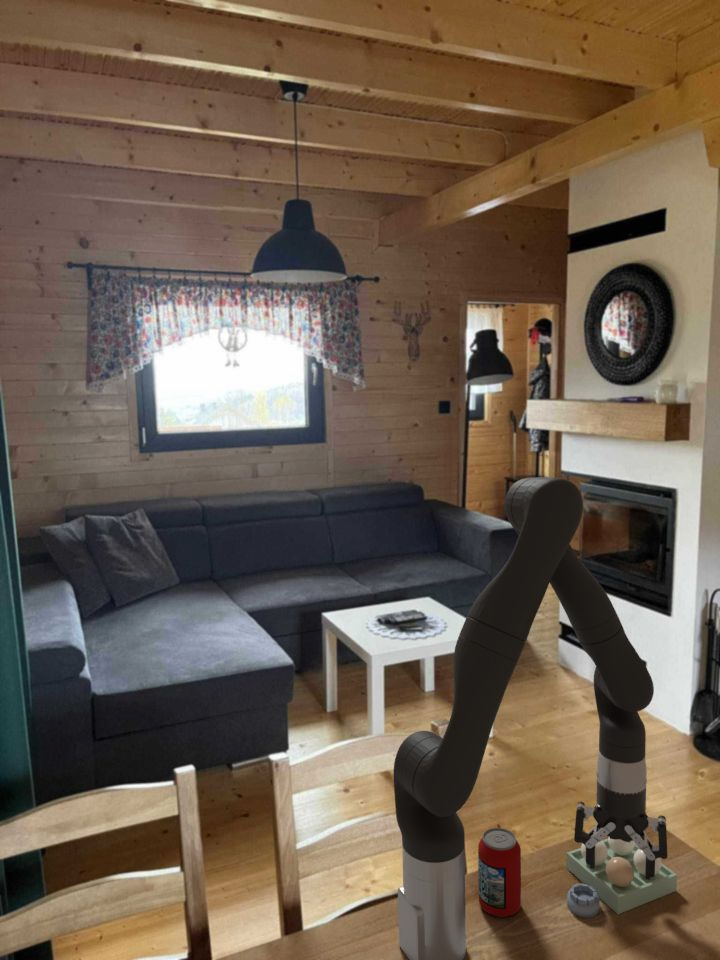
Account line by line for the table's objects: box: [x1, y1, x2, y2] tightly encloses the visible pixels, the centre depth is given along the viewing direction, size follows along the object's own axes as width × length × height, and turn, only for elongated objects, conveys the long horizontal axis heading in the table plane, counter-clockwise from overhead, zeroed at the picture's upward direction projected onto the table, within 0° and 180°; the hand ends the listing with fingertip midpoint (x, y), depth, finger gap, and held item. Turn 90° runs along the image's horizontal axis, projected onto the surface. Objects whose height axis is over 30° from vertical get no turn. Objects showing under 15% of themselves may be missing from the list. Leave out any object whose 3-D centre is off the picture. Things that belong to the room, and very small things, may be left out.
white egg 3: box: [633, 849, 663, 876], centre depth 123 cm, size 4×4×4 cm
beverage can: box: [477, 827, 522, 918], centre depth 119 cm, size 7×7×12 cm
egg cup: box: [566, 882, 601, 919], centre depth 119 cm, size 5×5×3 cm
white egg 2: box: [607, 836, 636, 856], centre depth 129 cm, size 4×4×4 cm
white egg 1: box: [580, 840, 608, 866], centre depth 126 cm, size 4×4×4 cm
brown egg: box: [606, 857, 634, 887], centre depth 121 cm, size 4×4×4 cm
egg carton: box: [565, 838, 678, 915], centre depth 125 cm, size 12×12×3 cm
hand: (619, 871), depth 121 cm, fingers open, 8 cm apart
